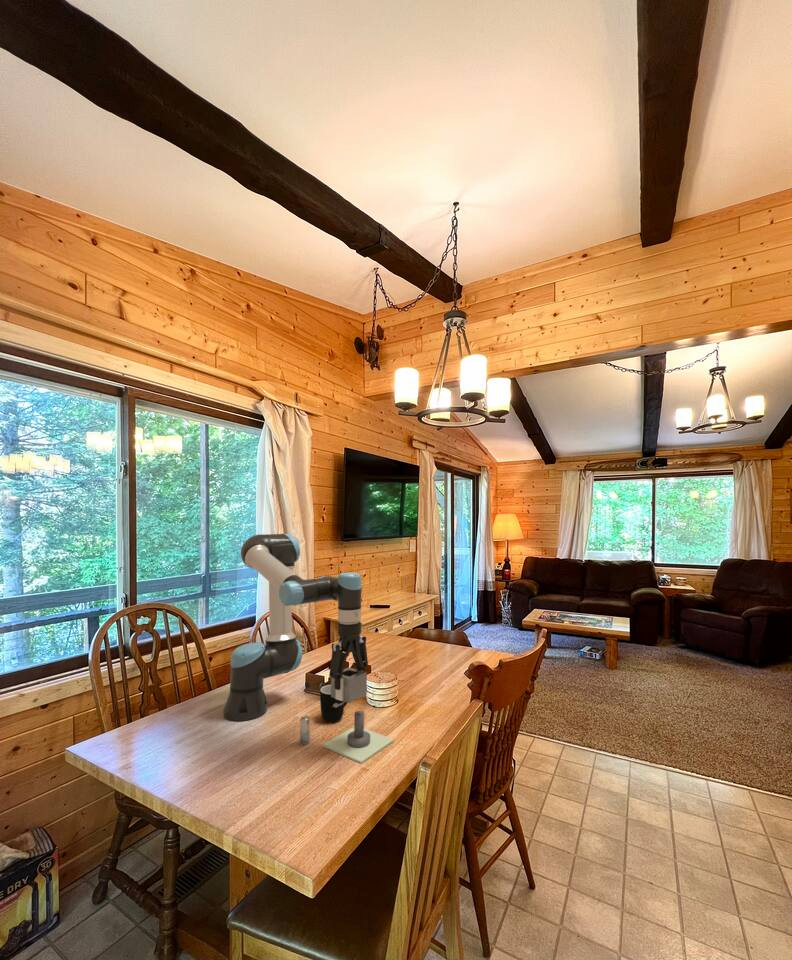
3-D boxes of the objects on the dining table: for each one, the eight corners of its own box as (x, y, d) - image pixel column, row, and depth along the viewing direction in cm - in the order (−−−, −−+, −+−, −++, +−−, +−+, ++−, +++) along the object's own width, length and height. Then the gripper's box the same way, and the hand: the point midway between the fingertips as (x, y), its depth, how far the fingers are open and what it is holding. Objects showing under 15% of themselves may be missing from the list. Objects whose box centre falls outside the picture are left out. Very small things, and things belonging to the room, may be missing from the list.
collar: (330, 696, 137) (331, 674, 138) (348, 689, 144) (348, 667, 144) (349, 703, 133) (349, 679, 133) (366, 695, 139) (366, 672, 140)
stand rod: (297, 743, 137) (298, 718, 138) (305, 739, 140) (305, 715, 140) (304, 746, 136) (304, 721, 136) (311, 742, 138) (312, 718, 139)
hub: (322, 746, 136) (323, 715, 137) (356, 727, 149) (357, 698, 149) (361, 763, 126) (361, 730, 127) (394, 741, 139) (394, 710, 140)
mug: (331, 727, 148) (331, 696, 149) (314, 719, 154) (315, 689, 155) (356, 715, 158) (356, 686, 158) (339, 708, 163) (339, 680, 164)
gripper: (334, 629, 130) (333, 709, 128) (379, 617, 146) (379, 688, 144) (317, 626, 135) (316, 703, 132) (362, 614, 151) (362, 683, 149)
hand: (349, 695), depth 138 cm, fingers closed on collar, 8 cm apart
